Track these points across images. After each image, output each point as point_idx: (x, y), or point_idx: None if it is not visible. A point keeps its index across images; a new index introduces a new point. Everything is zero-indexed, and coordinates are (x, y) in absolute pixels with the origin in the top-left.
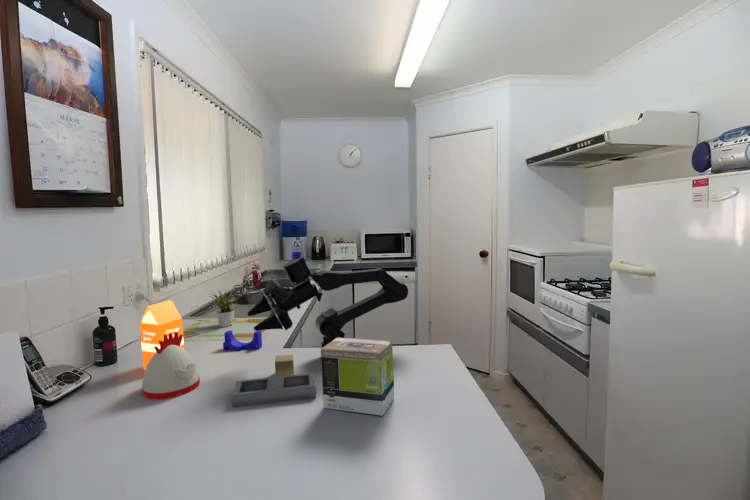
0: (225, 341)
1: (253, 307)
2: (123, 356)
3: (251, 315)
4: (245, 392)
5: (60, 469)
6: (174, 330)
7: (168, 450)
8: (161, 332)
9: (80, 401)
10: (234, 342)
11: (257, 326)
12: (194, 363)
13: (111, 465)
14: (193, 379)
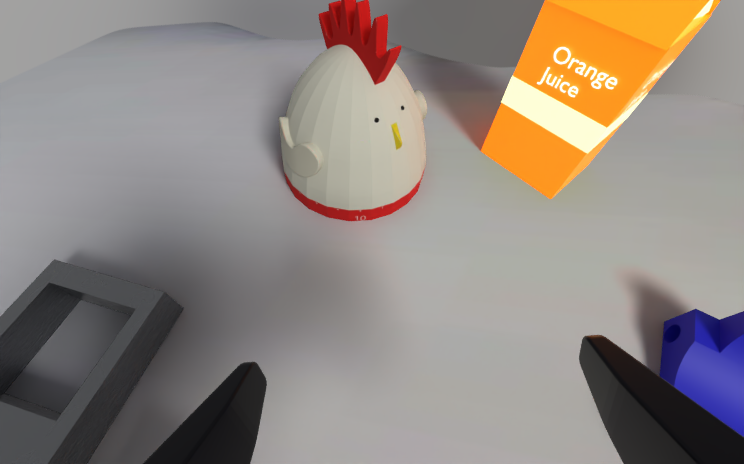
0: (720, 322)
1: (702, 420)
2: None
3: (592, 392)
4: (24, 302)
5: (126, 54)
6: (591, 75)
7: (18, 149)
8: (542, 39)
9: None
10: (721, 366)
11: (215, 396)
12: (346, 167)
13: (66, 92)
14: (304, 186)
